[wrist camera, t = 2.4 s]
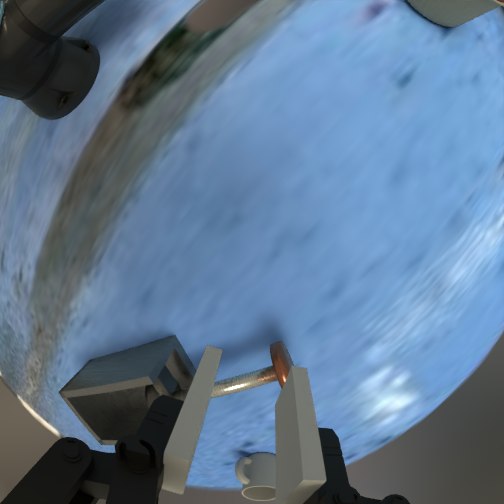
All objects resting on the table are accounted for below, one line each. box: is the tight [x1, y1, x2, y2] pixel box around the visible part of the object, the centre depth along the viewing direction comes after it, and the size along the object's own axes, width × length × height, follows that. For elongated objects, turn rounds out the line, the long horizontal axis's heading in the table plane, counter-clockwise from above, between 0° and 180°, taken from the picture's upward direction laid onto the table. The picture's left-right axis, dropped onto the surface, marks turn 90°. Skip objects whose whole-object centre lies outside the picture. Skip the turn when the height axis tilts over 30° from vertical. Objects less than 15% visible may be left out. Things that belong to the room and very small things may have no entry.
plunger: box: [145, 341, 294, 409], centre depth 32 cm, size 18×8×8 cm, turn 113°
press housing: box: [59, 335, 196, 445], centre depth 36 cm, size 20×12×11 cm, turn 113°
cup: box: [235, 452, 276, 501], centre depth 40 cm, size 7×10×9 cm
